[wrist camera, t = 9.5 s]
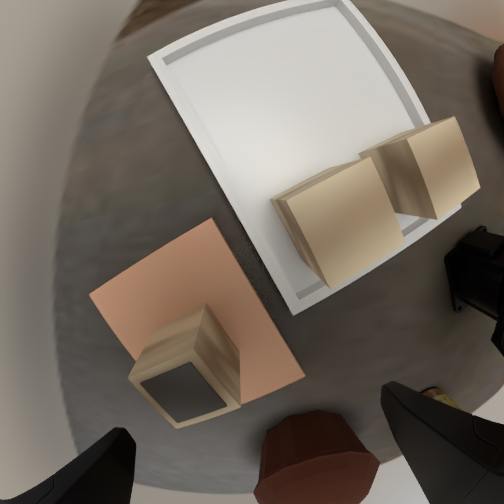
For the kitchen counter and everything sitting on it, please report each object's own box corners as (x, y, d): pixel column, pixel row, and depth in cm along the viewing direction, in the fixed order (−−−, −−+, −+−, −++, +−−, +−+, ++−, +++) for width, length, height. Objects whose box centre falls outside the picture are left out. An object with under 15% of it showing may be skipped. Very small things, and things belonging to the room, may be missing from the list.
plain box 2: (425, 186, 17) (480, 187, 12) (384, 211, 18) (437, 220, 12) (402, 131, 16) (454, 116, 11) (358, 153, 17) (406, 138, 11)
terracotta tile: (303, 370, 21) (305, 376, 20) (192, 416, 21) (191, 422, 20) (212, 216, 18) (211, 217, 17) (93, 291, 18) (88, 294, 18)
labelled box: (239, 351, 19) (241, 409, 13) (189, 374, 19) (176, 430, 13) (206, 302, 18) (192, 350, 12) (154, 329, 18) (126, 379, 12)
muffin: (241, 412, 21) (244, 505, 12) (360, 386, 21) (406, 463, 12) (260, 473, 24) (267, 541, 14) (352, 452, 24) (378, 514, 14)
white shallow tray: (447, 205, 18) (461, 207, 17) (288, 305, 19) (293, 315, 18) (334, 2, 14) (341, -9, 13) (153, 67, 15) (147, 56, 14)
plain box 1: (357, 227, 18) (405, 242, 12) (301, 259, 18) (330, 289, 12) (329, 167, 17) (370, 156, 11) (269, 198, 17) (285, 200, 11)
